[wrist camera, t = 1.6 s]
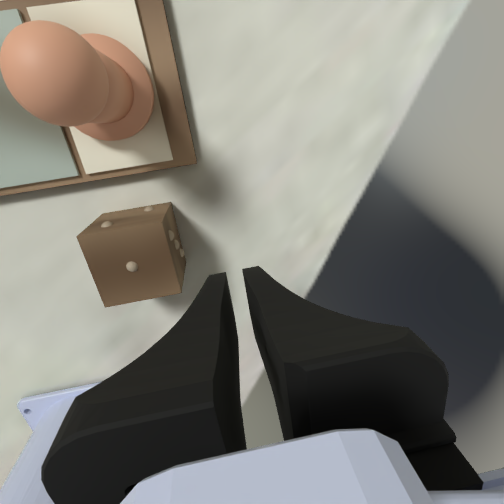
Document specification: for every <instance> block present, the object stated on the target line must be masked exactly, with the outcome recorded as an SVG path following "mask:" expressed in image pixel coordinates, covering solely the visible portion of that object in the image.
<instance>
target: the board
mask: <svg viewBox="0 0 504 504" xmlns="http://www.w3.org/2000/svg"><path fill="white" fill-rule="evenodd" d="M34 20H44V21H51V22H55V23H59V24H61V25H64V26H66V27H68V28H70V29H72V30H74V31H75V32H77V33H78V34H80V35H81V34H89V33H94V34H101V35H105V36H108V37H111V38H113V39H115V40H117V41H119V42H120V43H122V44H123V45H125V46H126V47H127V48H128V49H129V50H131V51H132V52H133V53H134V54H135V55H136V56H137V57H138V58H139V59H140V61H141V62H142V63H143V65H144V66H145V68H146V70H147V72H148V74H149V76H150V78H151V81H152V85H153V90H154V107H153V111H152V114H151V117H150V119H149V121H148V123H147V124H146V125H145V127H144V128H143V129H142V130H141V131H139V132H138V133H137V134H135V135H133V136H131V137H129V138H126V139H122V140H115V141H105V140H99V139H96V138H92V137H90V136H88V135H86V134H84V133H82V132H81V131H79V130H78V129H76V128H75V127H74V126H73V127H65V126H58V125H54V124H50V123H48V122H45V121H43V120H41V119H39V118H37V117H35V116H34V115H32V114H31V113H29V112H28V111H27V110H26V109H25V108H23V107H22V106H21V105H20V104H19V103H18V102H17V101H16V99H15V98H14V97H13V95H12V94H11V93H10V91H9V89H8V88H7V86H6V83H5V81H4V79H3V76H2V73H1V68H0V196H3V195H9V194H15V193H21V192H27V191H33V190H39V189H45V188H51V187H57V186H63V185H69V184H75V183H82V182H88V181H94V180H100V179H106V178H112V177H118V176H124V175H130V174H136V173H142V172H148V171H154V170H160V169H166V168H172V167H178V166H185V165H191V164H197V160H196V155H195V150H194V146H193V141H192V136H191V131H190V127H189V122H188V117H187V112H186V108H185V103H184V98H183V93H182V89H181V84H180V79H179V74H178V69H177V65H176V60H175V55H174V50H173V46H172V41H171V36H170V31H169V27H168V22H167V17H166V12H165V8H164V3H163V0H3V1H0V51H1V47H2V44H3V42H4V40H5V38H6V36H7V35H8V34H9V32H10V31H11V30H13V29H14V28H15V27H17V26H18V25H20V24H23V23H25V22H29V21H34Z"/></svg>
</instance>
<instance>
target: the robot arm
mask: <svg viewBox="0 0 504 504" xmlns="http://www.w3.org/2000/svg"><path fill="white" fill-rule="evenodd" d="M242 270H243V276H244V281H245V287H246V293H247V299H248V304H249V310H250V316H251V320H252V325H253V330H254V335H255V339H256V342H257V345H258V348H259V351H260V354H261V357H262V360H263V363H264V366H265V369H266V372H267V375H268V378H269V381H270V384H271V387H272V391H273V394H274V398H275V402H276V407H277V411H278V415H279V420H280V424H281V429H282V433H283V438H284V441H282V442H278V443H273V444H268V445H264V446H260V447H255V448H251V449H247V448H246V441H245V434H244V426H243V418H242V410H241V401H240V379H239V347H238V335H237V328H236V322H235V316H234V311H233V306H232V301H231V296H230V291H229V286H228V281H227V276H226V272H224V273H219V274H214V275H209V277H208V278H207V280H206V281H205V283H204V285H203V287H202V288H201V290H200V292H199V293H198V295H197V296H196V298H195V300H194V301H193V303H192V304H191V306H190V307H189V308H188V310H187V311H186V312H185V314H184V315H183V316H182V317H181V319H180V320H179V321H178V322H177V323H176V324H175V325H174V326H173V327H172V328H171V330H170V331H169V332H168V333H167V334H166V335H165V336H163V337H162V338H161V339H160V340H159V341H158V342H157V343H155V344H154V345H153V346H152V347H151V348H150V349H148V350H147V351H146V352H145V353H144V354H142V355H141V356H140V357H138V358H137V359H136V360H134V361H133V362H132V363H130V364H129V365H127V366H126V367H124V368H123V369H121V370H120V371H119V372H117V373H115V374H114V375H112V376H111V377H109V378H107V379H106V380H104V381H102V382H98V383H93V384H88V385H83V386H79V387H74V388H69V389H64V390H59V391H54V392H49V393H44V394H40V395H35V396H30V397H25V398H22V399H21V400H20V401H19V402H18V404H17V407H18V409H19V410H20V412H21V414H22V415H23V417H24V418H25V420H26V421H27V423H28V424H29V426H30V427H31V429H32V431H33V433H32V435H31V437H30V438H29V440H28V442H27V444H26V445H25V447H24V449H23V451H22V452H21V454H20V456H19V458H18V460H17V461H16V463H15V465H14V467H13V468H12V470H11V472H10V474H9V475H8V477H7V479H6V481H5V483H4V484H3V486H2V488H1V490H0V504H504V468H501V469H497V470H493V471H488V472H484V473H480V474H477V473H476V472H475V470H474V469H473V468H472V466H471V465H470V464H469V462H468V461H467V460H466V459H465V457H464V456H463V455H462V453H461V452H460V451H459V449H458V448H457V447H456V445H455V444H454V442H456V436H455V433H454V432H453V430H452V429H451V428H450V427H449V425H448V424H447V423H446V421H445V420H444V419H443V416H444V410H445V404H446V397H447V391H448V372H447V369H446V367H445V364H444V363H443V361H441V359H440V358H439V357H437V355H436V354H435V353H434V352H433V351H432V350H431V349H430V348H429V347H428V346H427V345H426V344H425V342H424V341H422V340H421V339H420V338H419V337H418V336H417V335H416V334H415V333H413V331H411V330H410V329H409V328H407V327H401V326H394V325H388V324H381V323H375V322H370V321H366V320H361V319H357V318H353V317H350V316H346V315H343V314H339V313H337V312H334V311H331V310H328V309H325V308H323V307H320V306H318V305H316V304H313V303H311V302H309V301H307V300H305V299H303V298H301V297H299V296H298V295H296V294H294V293H293V292H291V291H289V290H288V289H286V288H285V287H284V286H282V285H281V284H280V283H278V282H277V281H276V280H274V279H273V278H272V277H271V276H270V275H268V274H267V273H266V272H265V271H264V270H263V269H262V268H260V267H259V266H256V267H251V268H245V269H242Z"/></svg>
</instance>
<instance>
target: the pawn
mask: <svg viewBox="0 0 504 504" xmlns="http://www.w3.org/2000/svg"><path fill="white" fill-rule="evenodd" d="M0 68H1V73H2V76H3V79H4V81H5V83H6V86H7V88H8V89H9V91H10V93H11V94H12V95H13V97H14V98H15V99H16V101H17V102H18V103H19V104H20V105H21V106H22V107H23V108H25V109H26V110H27V111H28V112H29V113H31V114H32V115H34V116H35V117H37V118H39V119H41V120H43V121H45V122H48V123H50V124H54V125H58V126H65V127H73V126H74V127H75V128H76V129H78V130H79V131H81V132H82V133H84V134H86V135H88V136H90V137H92V138H96V139H99V140H105V141H115V140H122V139H126V138H129V137H131V136H133V135H135V134H137V133H138V132H139V131H141V130H142V129H143V128H144V127H145V125H146V124H147V123H148V121H149V119H150V117H151V114H152V111H153V107H154V90H153V85H152V81H151V78H150V76H149V74H148V72H147V70H146V68H145V66H144V65H143V63H142V62H141V61H140V59H139V58H138V57H137V56H136V55H135V54H134V53H133V52H132V51H131V50H129V49H128V48H127V47H126V46H125V45H123V44H122V43H120V42H119V41H117V40H115V39H113V38H111V37H108V36H105V35H101V34H94V33H89V34H81V35H80V34H78V33H77V32H75V31H74V30H72V29H70V28H68V27H66V26H64V25H61V24H59V23H55V22H51V21H44V20H34V21H29V22H25V23H23V24H20V25H18V26H17V27H15V28H14V29H13V30H11V31H10V32H9V34H8V35H7V36H6V38H5V40H4V42H3V44H2V47H1V51H0Z"/></svg>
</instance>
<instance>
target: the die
mask: <svg viewBox="0 0 504 504" xmlns="http://www.w3.org/2000/svg"><path fill="white" fill-rule="evenodd" d="M77 239H78V242H79V244H80V247H81V249H82V252H83V254H84V257H85V259H86V262H87V264H88V267H89V269H90V271H91V274H92V276H93V279H94V281H95V284H96V286H97V289H98V291H99V294H100V296H101V299H102V301H103V304H104V306H105V307H110V306H115V305H121V304H126V303H131V302H136V301H142V300H147V299H152V298H158V297H163V296H168V295H173V294H179V293H181V292H182V285H183V279H184V273H185V266H186V260H185V256H184V250H183V248H182V244H181V240H180V236H179V232H178V228H177V224H176V220H175V216H174V212H173V208H172V204H171V202H168V203H163V204H157V205H151V206H145V207H139V208H133V209H127V210H121V211H115V212H109V213H104V214H102V215H101V216H100V217H98V218H97V219H96V220H95V221H94V222H93V223H92V224H90V225H89V226H88V227H87V228H86V229H85V230H84V231H82V232H81V233H80V234H79V235H78V236H77Z"/></svg>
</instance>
